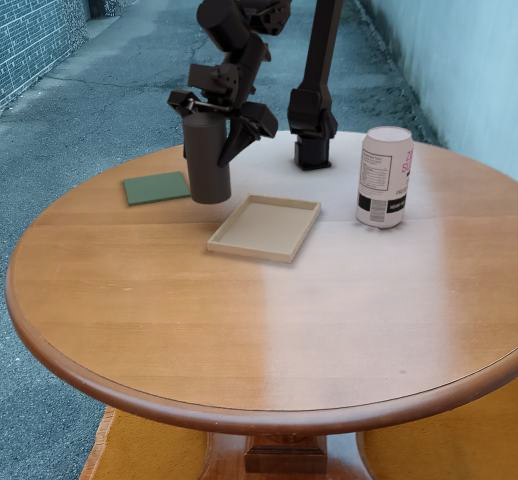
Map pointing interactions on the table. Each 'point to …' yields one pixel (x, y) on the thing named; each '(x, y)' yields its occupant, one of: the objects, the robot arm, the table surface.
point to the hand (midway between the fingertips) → (202, 162)
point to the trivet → (156, 188)
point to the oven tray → (266, 228)
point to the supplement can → (384, 176)
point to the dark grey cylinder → (206, 157)
